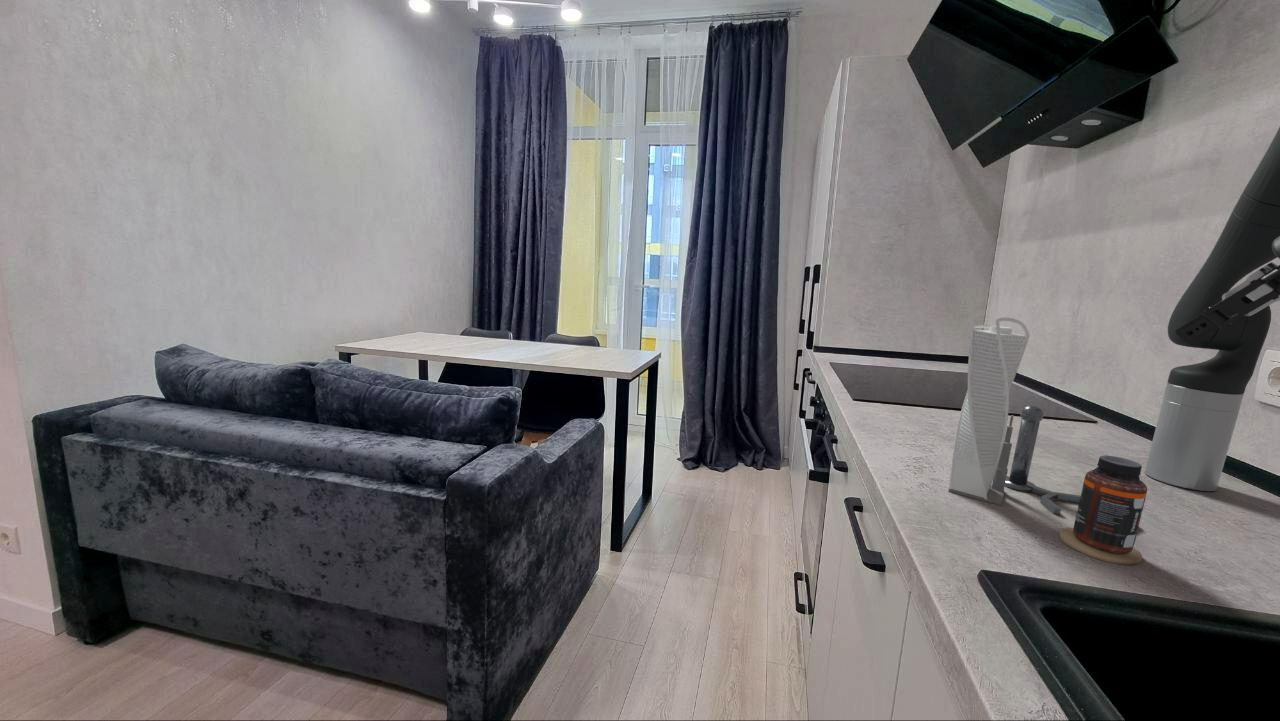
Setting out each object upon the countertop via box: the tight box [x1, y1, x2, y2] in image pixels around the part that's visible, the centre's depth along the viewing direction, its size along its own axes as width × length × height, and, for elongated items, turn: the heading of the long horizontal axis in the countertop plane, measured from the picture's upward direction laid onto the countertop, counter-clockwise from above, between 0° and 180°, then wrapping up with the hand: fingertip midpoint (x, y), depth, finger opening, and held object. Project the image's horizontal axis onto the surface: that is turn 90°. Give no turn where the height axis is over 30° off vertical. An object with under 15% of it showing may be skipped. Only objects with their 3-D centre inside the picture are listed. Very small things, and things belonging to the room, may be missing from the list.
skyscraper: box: [948, 317, 1030, 506], centre depth 81 cm, size 8×8×28 cm
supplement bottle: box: [1073, 455, 1148, 554], centre depth 67 cm, size 6×6×11 cm
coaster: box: [1059, 527, 1143, 566], centre depth 68 cm, size 8×8×1 cm
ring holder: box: [1004, 404, 1081, 516], centre depth 80 cm, size 10×18×14 cm, turn 31°
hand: (1198, 327), depth 67 cm, fingers open, 8 cm apart
